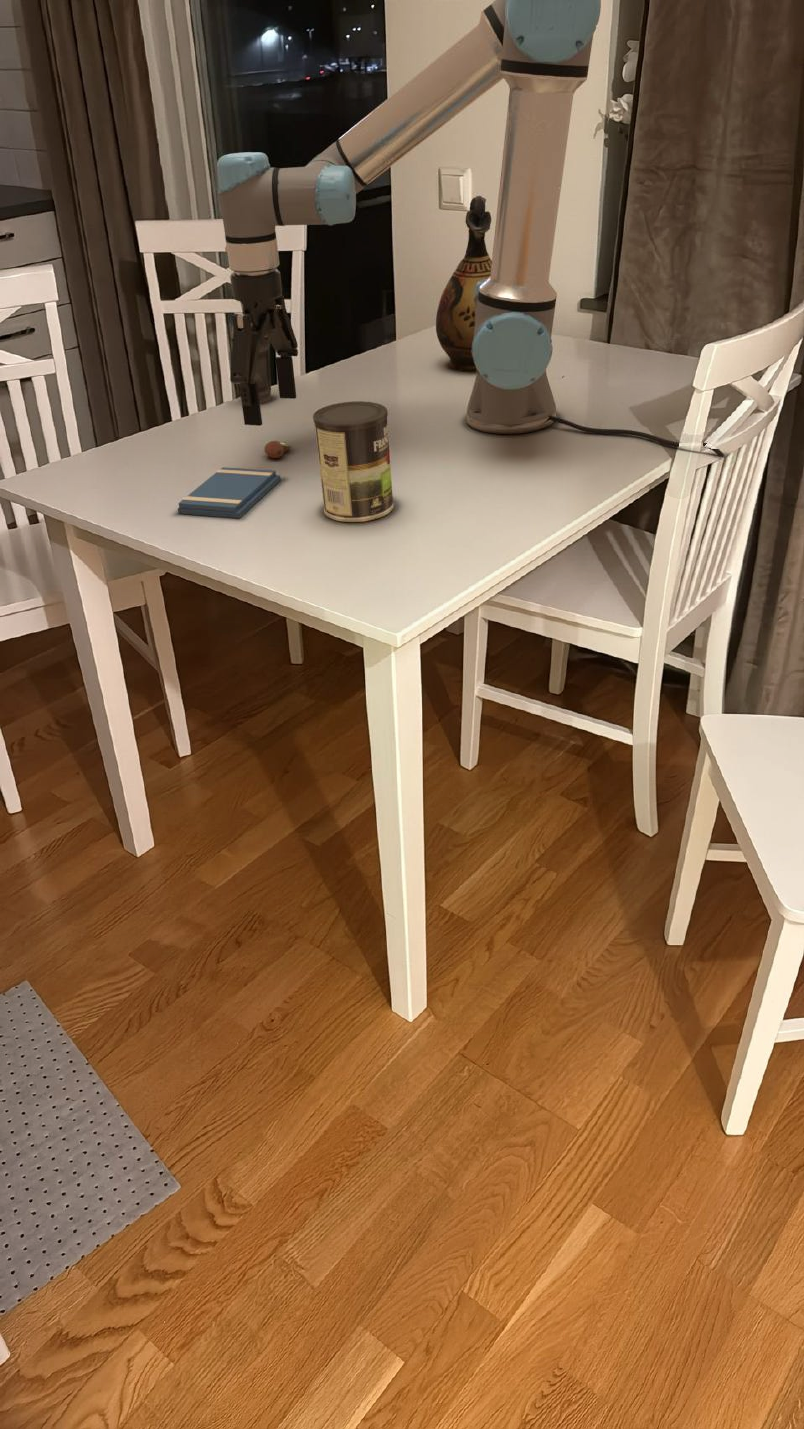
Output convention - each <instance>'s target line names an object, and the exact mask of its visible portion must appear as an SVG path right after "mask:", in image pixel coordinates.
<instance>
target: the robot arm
mask: <svg viewBox="0 0 804 1429" xmlns="http://www.w3.org/2000/svg"><path fill="white" fill-rule="evenodd" d="M601 9H602V0H494V1H492V3H491V4H489V5H488V6H487V7H486V8H484V9H483V10H482V11H481V12H480V17H479V22H478V24H477V25H476V26H475V27H474V28H472V29H471V30H470V31H469V32H467V33H466V34H465V35H464V36H462V37H461V38H460V39H459V40H458V41H457V42H455V43H454V44H453V45H452V46H450V47H449V48H448V49H447V50H446V51H444V52H443V53H442V54H440V56H438V57H436V59H434V60H433V61H432V62H431V63H429V64H428V65H427V66H426V67H424V69H422V70H421V71H420V72H419V73H417V74H416V75H415V76H413V77H412V78H411V79H410V80H409V81H408V82H406V83H405V84H404V85H402V87H400V88H399V89H398V90H397V91H394V93H392V94H391V96H389V97H388V98H387V99H386V100H384V101H383V102H382V103H381V104H379V105H378V106H377V107H375V108H374V109H373V110H372V111H371V112H370V113H368V114H367V115H366V116H364V117H363V118H362V119H361V120H360V121H358V122H357V123H356V124H354V126H352V127H351V128H350V129H349V130H348V131H346V132H345V133H344V134H343V135H341V136H340V137H339V138H338V139H337V140H336V141H335V142H333V143H332V144H331V145H329V146H328V147H327V148H326V149H324V150H323V151H322V152H321V153H319V154H317V155H316V156H315V157H313V158H312V159H311V160H310V161H308V163H307V164H306V165H305V166H297V167H283V168H281V167H271V164H270V163H269V157H268V156H267V154H266V153H264V152H257V151H256V152H253V151H252V152H251V151H248V152H234V153H228V154H224V155H222V156H221V157H220V158H218V160H217V162H216V171H217V185H218V186H217V187H218V190H217V194H218V198H219V203H220V210H221V215H222V216H221V217H222V223H223V229H224V230H223V232H224V239H225V245H226V246H225V247H224V250H225V251H224V252H226V253H227V262H228V268H229V270H230V271H232V272H231V274H230V275H229V278H230V280H229V281H230V286H231V295H232V298H233V300H235V301H236V302H241V303H242V305H243V311H242V312H241V313H233V314H232V326H233V330H234V331H233V343H232V345H231V346H232V348H231V362H230V364H231V365H230V376H229V380H230V383H232V384H235V385H236V384H238V385H239V394H240V399H241V408H242V416H243V423H244V425H245V426H259V427H261V426H262V425H263V418H262V412H261V411H262V410H261V403H260V401H259V393H258V385H257V382H254V378H255V372H256V367H257V361H258V356H259V351H260V345H261V343H262V342H264V340H265V336H266V335H267V337H268V339H269V340H270V345H272V348H273V349H274V351H275V352H276V354H277V356H276V357H275V358H274V359H275V368H276V369H275V370H276V378H277V386H278V396H279V399H289V400H291V399H292V400H295V399H296V398H297V390H296V379H295V370H294V359H293V357H298V355H299V349H298V346H299V345H298V340H297V338H296V335H295V331H294V328H293V326H292V323H291V320H290V317H289V315H288V311H287V309H286V301H285V296H284V295H283V287H282V278H281V271H279V269H278V267H279V266H280V265H281V264H280V256H279V248H278V239H277V231H276V227H285V226H314V225H315V226H318V225H319V226H321V225H327V226H334V225H337V224H338V225H340V224H348V223H351V222H352V221H353V220H354V219H355V216H356V209H357V194H359V193H360V192H361V191H362V190H363V189H364V188H365V187H366V186H367V185H369V184H370V183H371V182H373V181H374V180H375V179H377V178H378V177H379V176H381V175H382V174H383V173H384V172H386V171H387V170H388V169H389V168H391V167H393V165H395V164H396V163H397V162H398V161H400V160H401V159H403V158H404V157H405V156H406V155H407V154H408V153H409V152H411V151H413V150H414V149H415V148H417V147H418V146H419V145H420V144H422V143H423V142H424V141H426V140H427V139H428V138H429V137H431V136H432V135H433V134H434V133H436V132H437V131H439V130H440V129H441V128H442V127H443V126H445V125H446V124H447V123H448V122H450V121H451V120H453V118H455V117H456V116H458V115H459V114H460V113H461V112H463V111H464V110H465V109H466V108H468V107H469V106H470V105H472V104H473V103H475V101H477V100H478V99H480V97H482V96H483V95H484V94H487V92H488V91H490V90H491V89H492V88H494V87H495V86H496V85H497V84H499V83H500V82H501V81H502V80H504V81H505V82H506V84H507V85H508V88H509V92H508V95H509V96H508V104H507V112H506V120H505V121H506V122H505V132H504V140H503V141H504V142H503V150H502V159H501V160H502V162H501V170H500V172H501V173H500V179H499V180H500V181H499V189H498V199H497V207H496V208H497V209H496V216H495V217H496V218H495V227H494V228H495V229H494V238H493V248H492V258H491V260H492V265H491V275H490V277H489V278H488V279H484V280H480V281H479V282H478V283H477V284H476V286H475V296H474V302H475V330H474V339H473V342H472V357H473V361H474V363H475V366H476V372H475V374H476V375H475V380H474V382H473V386H472V390H471V393H470V396H469V400H468V404H467V408H466V423H467V425H469V427H471V428H472V429H474V430H478V431H480V432H483V433H484V432H485V433H489V434H498V435H499V434H500V435H513V434H516V435H517V434H524V433H530V432H531V433H532V432H536V431H539V430H543V429H545V428H547V427H550V426H551V425H553V423H559V424H562V425H565V426H567V427H570V428H573V429H576V430H578V431H582V432H585V433H592V434H604V435H605V434H607V435H628V436H634V437H641V438H644V439H648V440H651V441H653V442H657V443H660V444H662V445H663V444H664V445H667V446H670V447H676V448H680V447H679V443H680V442H677V441H674V440H669V439H665V438H662V437H659V436H656V435H653V434H649V433H646V432H644V431H643V432H642V431H637V430H631V429H621V428H619V429H618V428H597V427H596V428H594V427H588V426H583V425H580V424H577V423H575V422H572V421H570V420H566V419H563V418H561V417H557V405H556V401H555V398H554V395H553V390H552V389H551V388H552V387H551V385H550V382H549V379H548V375H547V368H548V367H549V364H550V362H551V359H552V355H553V349H554V348H553V339H552V333H553V326H554V319H555V312H556V304H557V297H558V293H557V292H556V290H555V289H554V288H553V286H552V284H550V280H549V279H550V273H551V264H552V259H553V258H552V257H553V251H554V250H553V249H554V243H555V235H556V228H557V221H558V212H559V205H560V197H561V192H562V182H563V175H564V169H565V161H566V153H567V146H568V138H569V130H570V122H571V115H572V110H573V109H572V108H573V101H574V94H575V93H576V91H577V90H578V89H579V88H580V87H581V86H582V85H583V84H584V83H585V82H586V81H587V80H588V75H589V69H590V68H589V67H590V60H591V53H592V46H593V40H594V33H595V31H596V30H597V26H598V25H599V20H600V16H601ZM241 303H240V304H241ZM702 442H703V446H705V445H706V444H707V443H708V442H706V441H705V442H704V441H702ZM704 448H706V447H704ZM706 449H707V448H706ZM708 449H709V450H711V451H713V452H714V453H715V454H716V455H717V457H720V458H725V457H726V456H725V454H724V453H723V452H722V451H721V450H720V449H719V448H718V449H711V448H708Z"/></svg>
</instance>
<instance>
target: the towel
mask: <svg viewBox="0 0 804 1429" xmlns="http://www.w3.org/2000/svg"><path fill="white" fill-rule="evenodd" d="M281 481H282V478H281V475H280V474H277V471H276V470H271V469H254V468H239V467H238V468H237V467H223V466H222V467H221V468H220V469H217V470H216V471H215V473H214V474H213V475H211V476H210V477H209V478H207V479H206V480H205V481H204V482H203V483H201V484H200V485H199V486H198V487H196V488H195V489H194V490H193V491H192V492H190V493H189V494H188V495H185V496H183V498H182V499H181V501H179V502H178V508H177V513H178V514H179V515H190V516H191V515H193V516H203V517H204V516H205V517H217V518H231V519H241V518H242V517H243V516H244V515H245V514H246V513H247V512H248V511H249V510H250V509H252V508H253V507H254V506H255V505H256V504H257V503H258V502H259V501H260V500H261V499H262V498H263V497H264V496H265V495H266V494H268V493H269V492H270V491H271V490H272V489H273V488H274V487H275V486H277V485H278V483H280V482H281Z"/></svg>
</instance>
